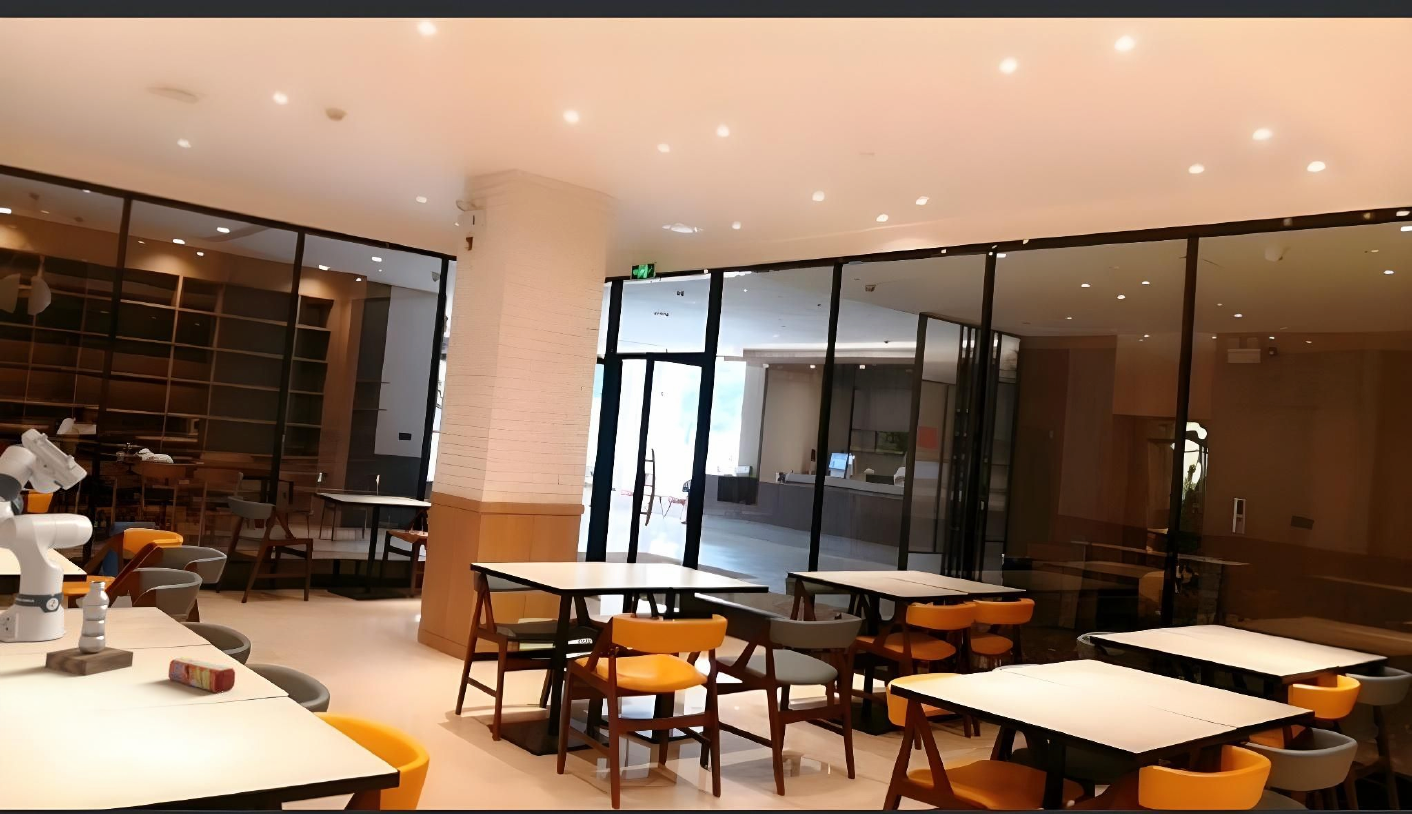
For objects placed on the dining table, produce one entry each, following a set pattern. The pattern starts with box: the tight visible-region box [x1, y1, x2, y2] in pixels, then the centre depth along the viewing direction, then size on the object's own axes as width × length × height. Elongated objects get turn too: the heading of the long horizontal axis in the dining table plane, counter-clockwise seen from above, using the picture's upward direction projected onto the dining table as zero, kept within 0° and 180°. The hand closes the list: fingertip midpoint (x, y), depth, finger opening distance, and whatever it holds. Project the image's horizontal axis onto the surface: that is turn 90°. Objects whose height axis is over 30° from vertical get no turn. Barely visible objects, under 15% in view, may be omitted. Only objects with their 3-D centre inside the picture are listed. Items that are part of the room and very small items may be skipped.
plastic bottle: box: [77, 580, 110, 653], centre depth 268 cm, size 6×7×20 cm
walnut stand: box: [45, 646, 134, 676], centre depth 268 cm, size 16×14×4 cm
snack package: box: [168, 656, 236, 694], centre depth 257 cm, size 21×7×7 cm, turn 62°
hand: (56, 446), depth 277 cm, fingers open, 8 cm apart
